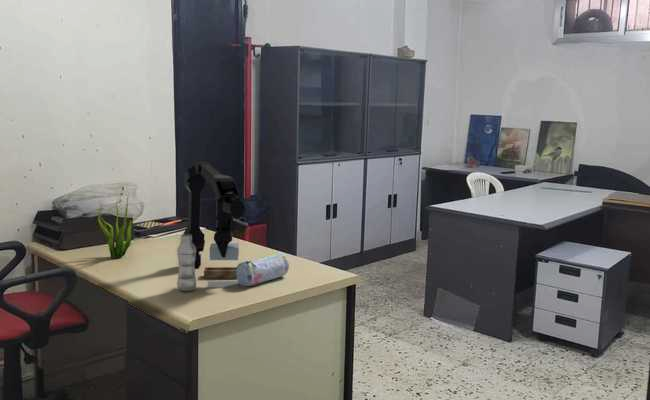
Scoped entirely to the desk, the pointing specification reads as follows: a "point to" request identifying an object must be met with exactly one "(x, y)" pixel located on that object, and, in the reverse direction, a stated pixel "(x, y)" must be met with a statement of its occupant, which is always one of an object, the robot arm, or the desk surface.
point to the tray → (220, 273)
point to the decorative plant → (117, 235)
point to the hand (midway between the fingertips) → (224, 254)
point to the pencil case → (262, 269)
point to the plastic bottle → (186, 264)
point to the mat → (223, 284)
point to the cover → (231, 252)
